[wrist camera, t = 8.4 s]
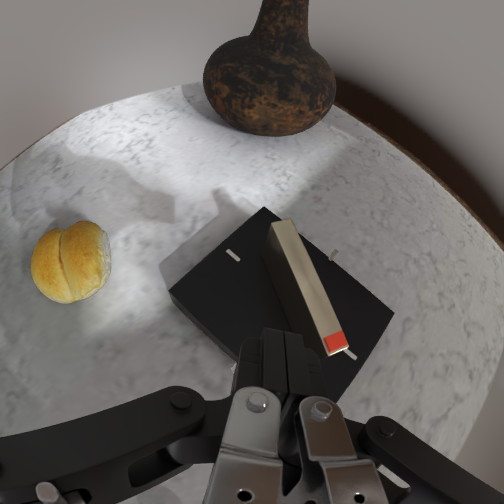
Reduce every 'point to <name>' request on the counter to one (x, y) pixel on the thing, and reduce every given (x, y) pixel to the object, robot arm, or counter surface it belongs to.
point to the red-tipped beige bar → (301, 290)
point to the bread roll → (71, 262)
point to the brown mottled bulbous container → (271, 75)
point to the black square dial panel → (276, 301)
